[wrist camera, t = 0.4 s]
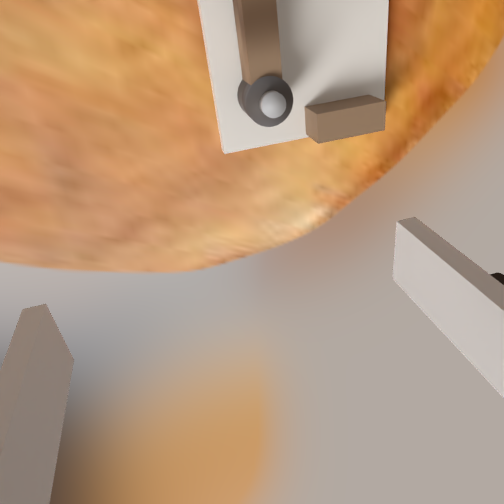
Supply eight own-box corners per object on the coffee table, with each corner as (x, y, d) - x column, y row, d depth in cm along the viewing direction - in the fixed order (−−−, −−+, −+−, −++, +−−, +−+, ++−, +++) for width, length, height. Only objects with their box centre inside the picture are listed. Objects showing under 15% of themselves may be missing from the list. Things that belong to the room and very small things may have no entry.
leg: (210, -104, 27) (218, -117, 24) (263, -110, 27) (278, -123, 25) (240, 120, 35) (249, 130, 32) (282, 112, 35) (294, 122, 32)
